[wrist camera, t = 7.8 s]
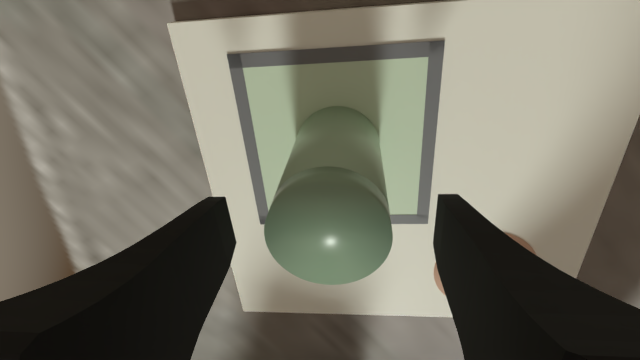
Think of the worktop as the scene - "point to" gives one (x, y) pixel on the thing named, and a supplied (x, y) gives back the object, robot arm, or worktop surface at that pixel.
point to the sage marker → (331, 201)
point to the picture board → (419, 127)
